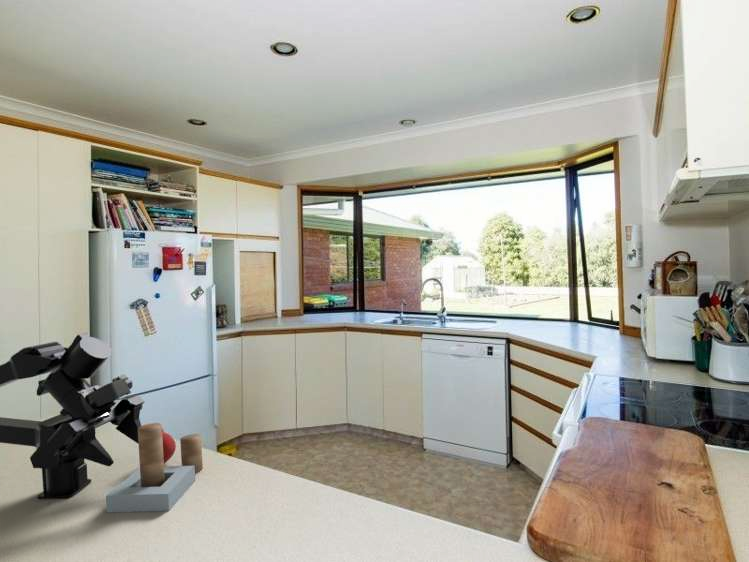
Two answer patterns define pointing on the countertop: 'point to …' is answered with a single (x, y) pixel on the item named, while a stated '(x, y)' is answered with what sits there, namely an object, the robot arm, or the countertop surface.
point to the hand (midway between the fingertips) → (129, 454)
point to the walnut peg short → (191, 451)
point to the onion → (168, 446)
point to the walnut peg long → (151, 455)
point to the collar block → (151, 491)
